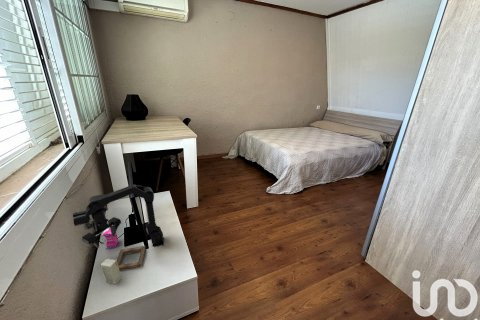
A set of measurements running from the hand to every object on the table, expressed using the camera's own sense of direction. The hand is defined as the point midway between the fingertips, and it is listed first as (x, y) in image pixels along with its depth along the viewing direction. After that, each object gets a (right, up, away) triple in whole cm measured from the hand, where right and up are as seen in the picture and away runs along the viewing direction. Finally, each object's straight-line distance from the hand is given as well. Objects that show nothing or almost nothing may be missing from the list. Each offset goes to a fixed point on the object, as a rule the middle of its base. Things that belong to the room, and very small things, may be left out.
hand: (106, 241), depth 117 cm
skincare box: (+8, -18, -7) cm, 21 cm away
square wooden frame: (+11, -13, +5) cm, 18 cm away
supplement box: (-6, -9, +16) cm, 19 cm away
